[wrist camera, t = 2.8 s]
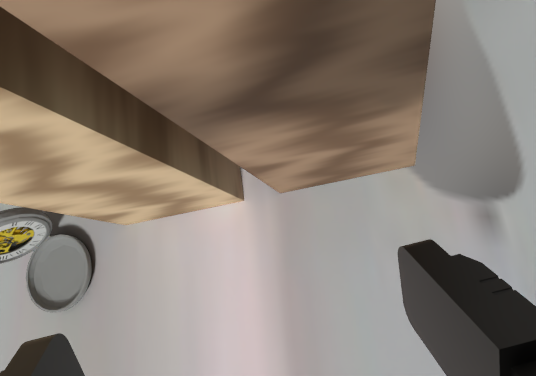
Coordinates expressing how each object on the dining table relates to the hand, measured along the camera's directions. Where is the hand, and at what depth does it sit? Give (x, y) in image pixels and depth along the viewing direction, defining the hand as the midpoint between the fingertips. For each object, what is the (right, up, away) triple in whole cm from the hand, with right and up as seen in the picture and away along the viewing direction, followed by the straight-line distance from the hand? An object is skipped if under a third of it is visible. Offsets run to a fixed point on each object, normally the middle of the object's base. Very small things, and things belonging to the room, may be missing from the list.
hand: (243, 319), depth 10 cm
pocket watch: (-18, -4, +27) cm, 33 cm away
